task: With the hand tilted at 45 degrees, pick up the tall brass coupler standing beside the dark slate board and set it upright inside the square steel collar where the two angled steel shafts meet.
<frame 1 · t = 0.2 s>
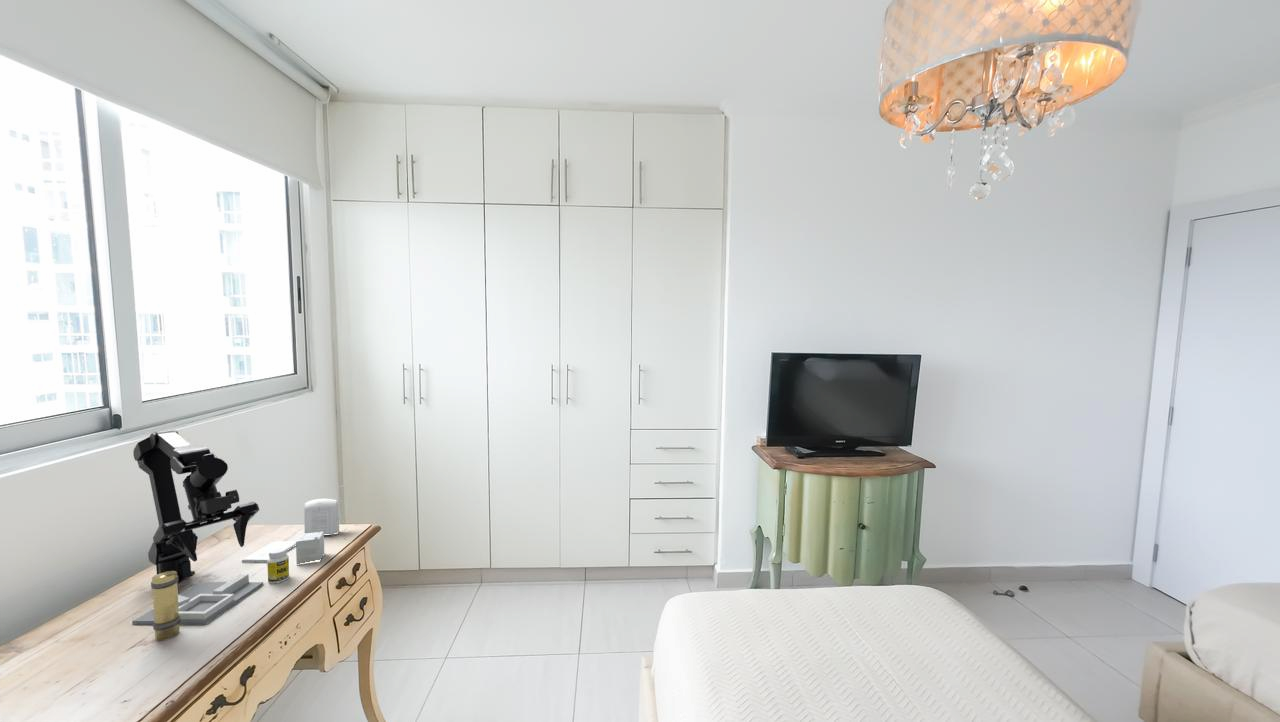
hand: (219, 553, 120), 15 cm above the table, tool tilted 35°, fingers open, 9 cm apart
coupler: (167, 635, 111), on the table
coupling station: (202, 612, 120), on the table
photo printer: (322, 535, 166), on the table
skincare box: (311, 560, 148), on the table
supplement bottle: (278, 580, 136), on the table
external hard drive: (271, 555, 152), on the table
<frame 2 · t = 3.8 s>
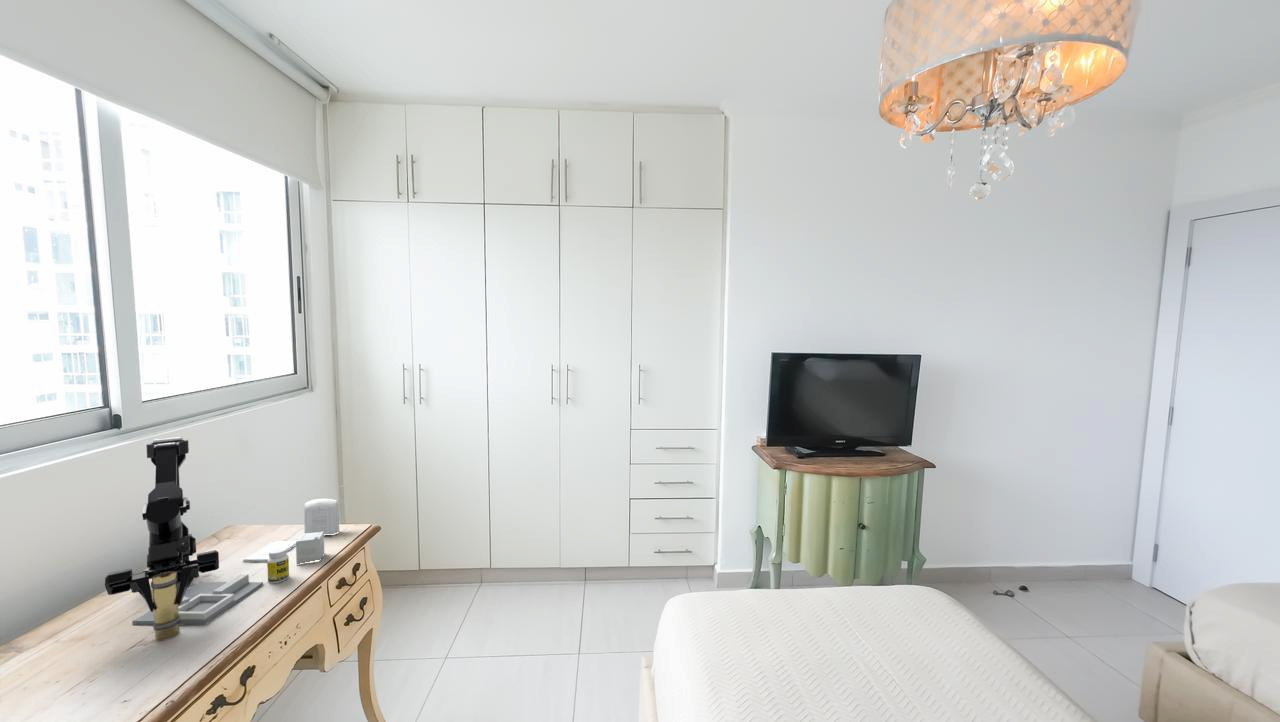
hand: (165, 607, 110), 7 cm above the table, tool tilted 45°, fingers closed on coupler, 4 cm apart
coupler: (167, 635, 111), on the table, touching gripper
everything else where it was.
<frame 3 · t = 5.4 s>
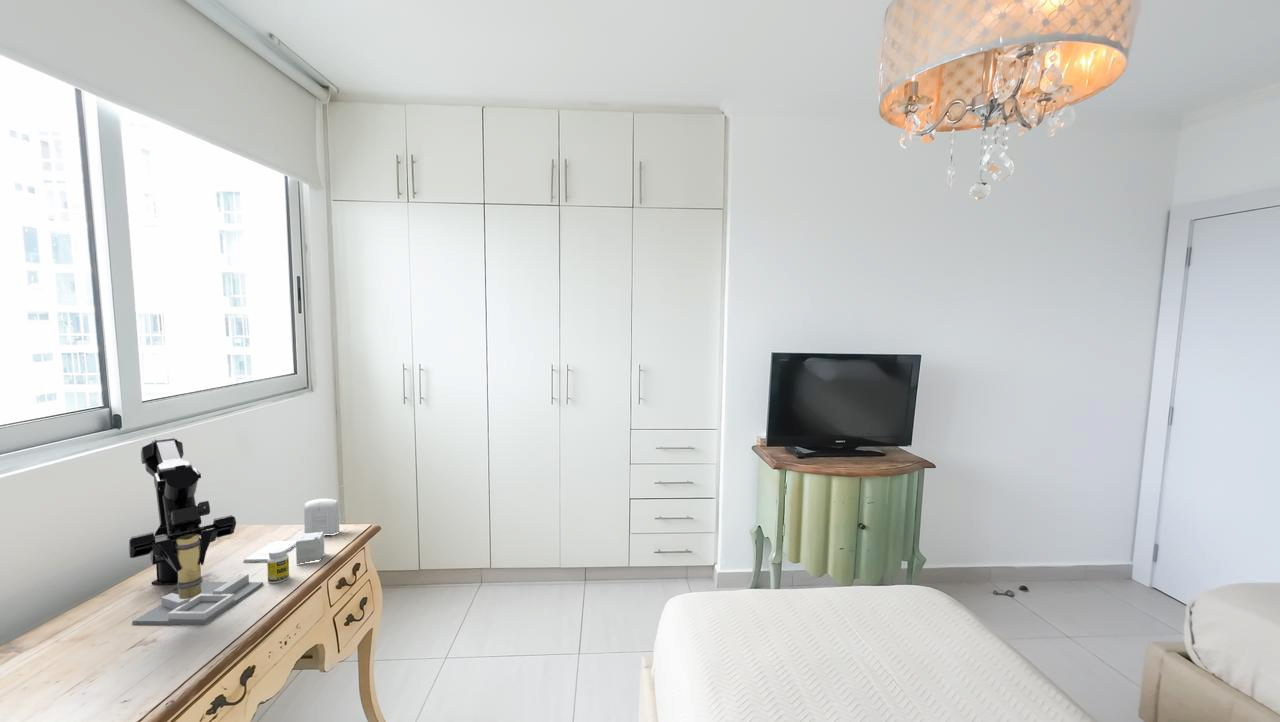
hand: (190, 567, 116), 13 cm above the table, tool tilted 45°, fingers closed on coupler, 4 cm apart
coupler: (190, 594, 117), point 6 cm above the table, touching gripper
everything else where it was.
when the fingers open (9 cm above the table, at t = 7.5 s): coupler stays where it is, resting on coupling station.
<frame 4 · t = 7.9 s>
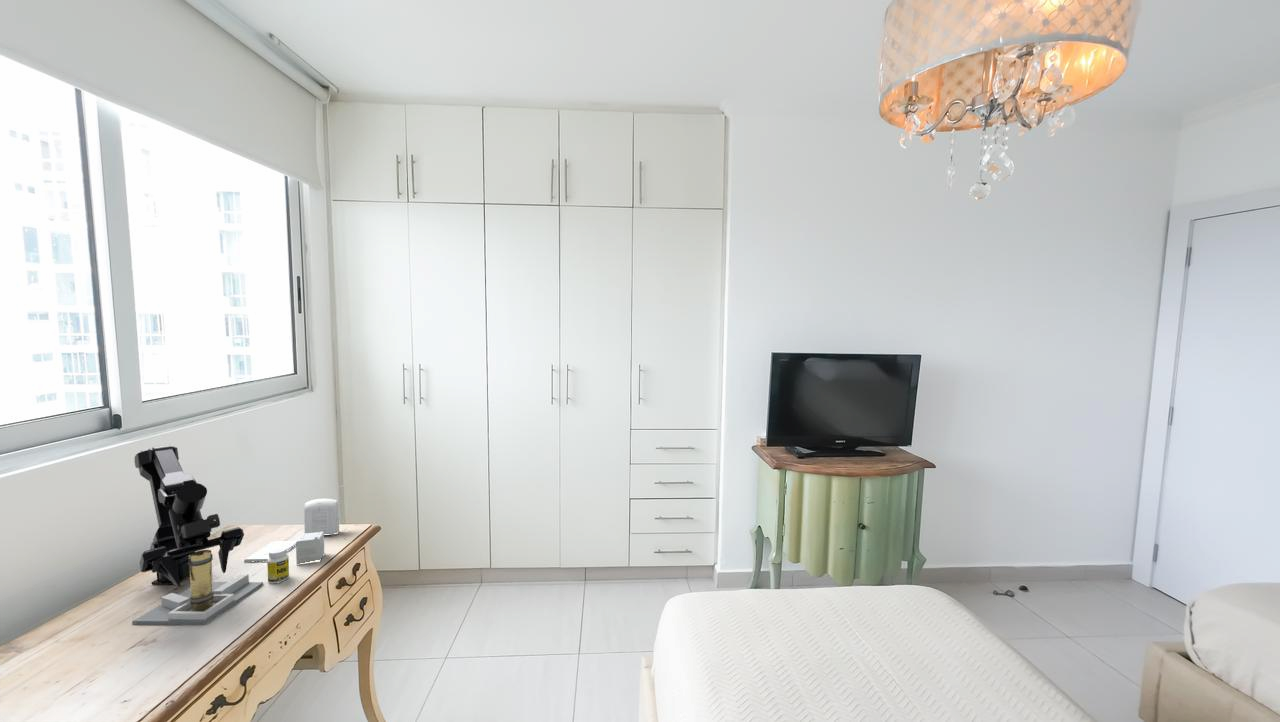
hand: (202, 579, 119), 9 cm above the table, tool tilted 45°, fingers open, 8 cm apart
coupler: (202, 609, 120), point 1 cm above the table, touching coupling station
everything else where it was.
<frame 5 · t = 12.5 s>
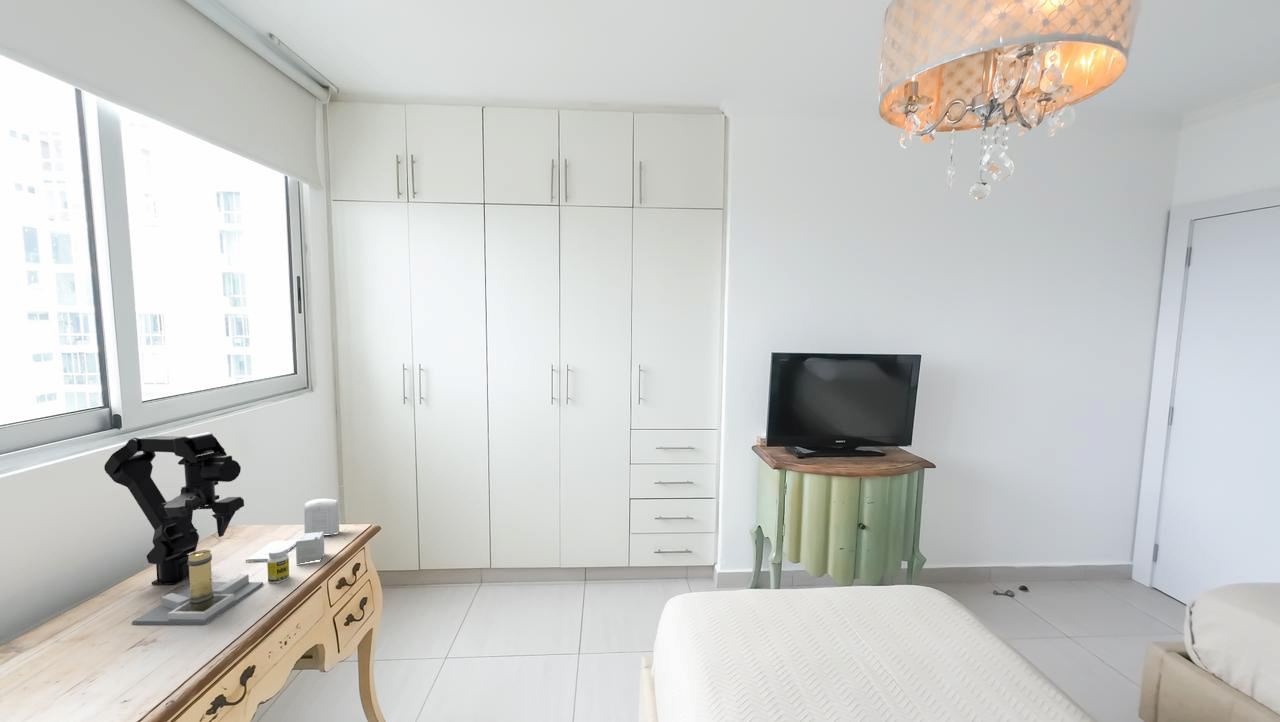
hand: (204, 536, 133), 13 cm above the table, tool pointing down, fingers open, 9 cm apart
nothing on the table moved.
at the end: coupler 0.1 cm off-centre on the coupling station, point 0.8 cm above the coupling station's base; coupler tilted 0°; the gripper is holding nothing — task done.
